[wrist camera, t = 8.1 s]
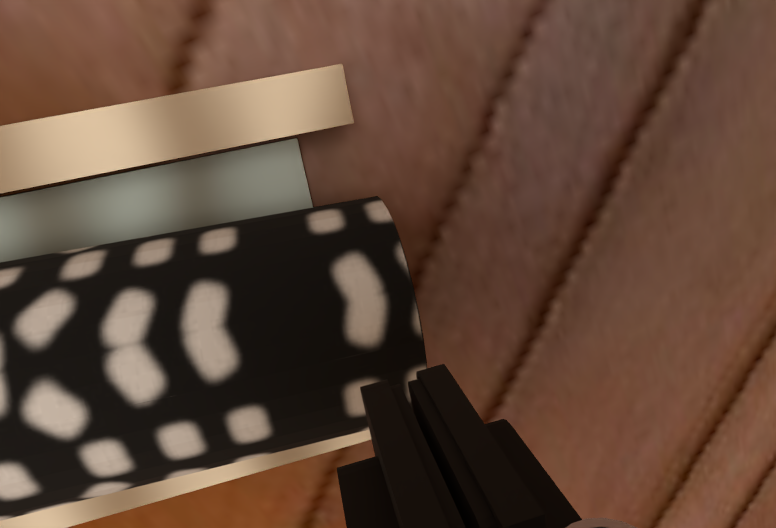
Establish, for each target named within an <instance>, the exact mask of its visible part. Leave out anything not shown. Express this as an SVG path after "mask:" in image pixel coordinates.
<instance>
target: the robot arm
mask: <svg viewBox="0 0 776 528" xmlns="http://www.w3.org/2000/svg"><path fill="white" fill-rule="evenodd" d="M416 378H417V379H416V380H412V381H408V388H409V393H410V398H411V404H412V409H413V411H412V409H411V406H410V404H409V402H408V400H407V398H406V396H405V393H404V391H403V389H402V387H401V385H400V384H398V385H394V386H390V384H389V382H388V380H383V381H380V382H376V383H372V384H369V385H365V386H361V387H360V390H361V395H362V400H363V404H364V408H365V413H366V417H367V421H368V426H369V430H370V435H371V439H372V443H373V448H374V452H375V456H376V457H372V458H369V459H366V460H362V461H359V462H355V463H352V464H349V465H345V466H342V467H338V468H337V472H338V479H339V485H340V491H341V496H342V502H343V508H344V514H345V520H346V526H347V528H636V527H634V526H632V525H629V524H627V523H624V522H622V521H618V520H612V519H607V518H590V519H584V520H582V519H581V518H580V516H579V515H578V514H577V512H576V511H575V510H574V508H573V507H572V506H571V504H570V503H569V502H568V500H567V499H566V498H565V496H564V495H563V494H562V492H561V491H560V490H559V488H558V487H557V486H556V484H555V483H554V482H553V480H552V479H551V478H550V476H549V475H548V474H547V472H546V471H545V470H544V468H543V467H542V466H541V464H540V463H539V462H538V460H537V459H536V458H535V456H534V455H533V454H532V452H531V451H530V450H529V448H528V447H527V446H526V444H525V443H524V442H523V440H522V439H521V438H520V436H519V435H518V434H517V432H516V431H515V430H514V428H513V427H512V426H511V424H510V423H509V422H508V421H507V420H504V419H501V420H498V421H495V422H491V423H488V424H484V423H483V421H482V420H481V418H480V417H479V415H478V414H477V412H476V411H475V409H474V408H473V406H472V405H471V403H470V402H469V400H468V399H467V397H466V396H465V394H464V393H463V391H462V390H461V388H460V387H459V385H458V384H457V382H456V381H455V379H454V378H453V376H452V375H451V373H450V372H449V370H448V369H447V367H446V366H445V365H444V364H442V365H438V366H434V367H431V368H427V369H423V370H420V371H417V372H416Z"/></svg>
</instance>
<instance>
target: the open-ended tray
mask: <svg viewBox="0 0 776 528" xmlns="http://www.w3.org/2000/svg"><path fill="white" fill-rule="evenodd" d="M352 123H354V121H353V116H352V111H351V106H350V100H349V95H348V90H347V85H346V80H345V75H344V70H343V65H342V64H339V65H333V66H328V67H322V68H317V69H311V70H306V71H300V72H295V73H289V74H284V75H278V76H273V77H267V78H262V79H256V80H251V81H245V82H240V83H234V84H229V85H223V86H218V87H212V88H207V89H201V90H196V91H190V92H185V93H179V94H174V95H168V96H163V97H157V98H152V99H146V100H141V101H135V102H130V103H124V104H119V105H113V106H108V107H102V108H97V109H91V110H86V111H80V112H75V113H69V114H64V115H58V116H53V117H47V118H42V119H36V120H31V121H25V122H20V123H14V124H9V125H3V126H0V193H5V192H10V191H15V190H20V189H25V188H30V187H35V186H40V185H45V184H50V183H56V182H61V181H66V180H71V179H76V178H81V177H86V176H91V175H96V174H101V173H106V172H111V171H116V170H121V169H126V168H131V167H136V166H141V165H146V164H151V163H156V162H161V161H166V160H171V159H176V158H181V157H186V156H191V155H196V154H201V153H206V152H211V151H216V150H221V149H226V148H231V147H236V146H241V145H246V144H251V143H256V142H261V141H266V140H271V139H276V138H281V137H286V136H291V135H296V134H302V133H307V132H312V131H317V130H322V129H327V128H332V127H337V126H342V125H347V124H352ZM307 208H313V205H312V201H311V196H310V192H309V188H308V183H307V179H306V175H305V171H304V166H303V162H302V158H301V153H300V149H299V145H298V140H297V138H293V139H288V140H283V141H278V142H273V143H268V144H263V145H258V146H253V147H248V148H243V149H239V150H234V151H229V152H224V153H219V154H214V155H209V156H204V157H199V158H194V159H189V160H184V161H179V162H174V163H169V164H164V165H159V166H154V167H149V168H144V169H139V170H134V171H129V172H124V173H119V174H114V175H109V176H104V177H99V178H94V179H89V180H84V181H79V182H74V183H69V184H64V185H59V186H54V187H49V188H44V189H39V190H34V191H29V192H24V193H19V194H14V195H9V196H4V197H0V262H5V261H11V260H17V259H23V258H28V257H34V256H40V255H45V254H51V253H57V252H62V251H68V250H74V249H79V248H85V247H91V246H97V245H102V244H108V243H114V242H119V241H125V240H131V239H136V238H142V237H148V236H153V235H159V234H165V233H171V232H176V231H182V230H188V229H193V228H199V227H205V226H210V225H216V224H222V223H227V222H233V221H239V220H245V219H250V218H256V217H262V216H267V215H273V214H279V213H284V212H290V211H296V210H301V209H307ZM368 440H371V435H370V430H366V431H362V432H358V433H353V434H349V435H345V436H341V437H337V438H333V439H329V440H325V441H321V442H317V443H313V444H309V445H305V446H301V447H297V448H293V449H289V450H285V451H281V452H277V453H273V454H268V455H264V456H260V457H256V458H252V459H248V460H244V461H240V462H236V463H232V464H228V465H224V466H220V467H216V468H212V469H208V470H204V471H200V472H196V473H192V474H188V475H183V476H179V477H175V478H171V479H167V480H163V481H159V482H155V483H151V484H147V485H143V486H139V487H135V488H131V489H127V490H123V491H119V492H115V493H111V494H107V495H103V496H98V497H94V498H90V499H86V500H82V501H78V502H74V503H70V504H66V505H62V506H58V507H54V508H50V509H46V510H42V511H38V512H34V513H30V514H26V515H22V516H18V517H13V518H9V519H5V520H1V521H0V528H67V527H70V526H74V525H77V524H81V523H84V522H88V521H91V520H94V519H98V518H101V517H105V516H108V515H112V514H115V513H119V512H122V511H126V510H129V509H132V508H136V507H139V506H143V505H146V504H150V503H153V502H157V501H160V500H164V499H167V498H170V497H174V496H177V495H181V494H184V493H188V492H191V491H195V490H198V489H202V488H205V487H208V486H212V485H215V484H219V483H222V482H226V481H229V480H233V479H236V478H240V477H243V476H247V475H250V474H253V473H257V472H260V471H264V470H267V469H271V468H274V467H278V466H281V465H285V464H288V463H291V462H295V461H298V460H302V459H305V458H309V457H312V456H316V455H319V454H323V453H326V452H329V451H333V450H336V449H340V448H343V447H347V446H350V445H354V444H357V443H361V442H364V441H368Z"/></svg>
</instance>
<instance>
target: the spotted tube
mask: <svg viewBox="0 0 776 528" xmlns="http://www.w3.org/2000/svg"><path fill="white" fill-rule="evenodd" d="M423 369H427V362H426V354H425V347H424V339H423V333H422V327H421V322H420V316H419V311H418V306H417V302H416V297H415V292H414V288H413V284H412V280H411V276H410V272H409V268H408V264H407V261H406V257H405V254H404V251H403V247H402V244H401V241H400V238H399V235H398V232H397V230H396V227H395V224H394V222H393V220H392V217H391V215H390V213H389V211H388V209H387V207H386V206H385V204H384V203H383V201H382V200H381V199H380V198H379V197H378V196H375V197H370V198H364V199H358V200H353V201H347V202H341V203H336V204H330V205H324V206H319V207H313V208H307V209H301V210H296V211H290V212H284V213H279V214H273V215H267V216H262V217H256V218H250V219H245V220H239V221H233V222H227V223H222V224H216V225H210V226H205V227H199V228H193V229H188V230H182V231H176V232H171V233H165V234H159V235H153V236H148V237H142V238H136V239H131V240H125V241H119V242H114V243H108V244H102V245H97V246H91V247H85V248H79V249H74V250H68V251H62V252H57V253H51V254H45V255H40V256H34V257H28V258H23V259H17V260H11V261H5V262H0V521H1V520H5V519H9V518H13V517H18V516H22V515H26V514H30V513H34V512H38V511H42V510H46V509H50V508H54V507H58V506H62V505H66V504H70V503H74V502H78V501H82V500H86V499H90V498H94V497H98V496H103V495H107V494H111V493H115V492H119V491H123V490H127V489H131V488H135V487H139V486H143V485H147V484H151V483H155V482H159V481H163V480H167V479H171V478H175V477H179V476H183V475H188V474H192V473H196V472H200V471H204V470H208V469H212V468H216V467H220V466H224V465H228V464H232V463H236V462H240V461H244V460H248V459H252V458H256V457H260V456H264V455H268V454H273V453H277V452H281V451H285V450H289V449H293V448H297V447H301V446H305V445H309V444H313V443H317V442H321V441H325V440H329V439H333V438H337V437H341V436H345V435H349V434H353V433H358V432H362V431H366V430H369V426H368V421H367V417H366V413H365V408H364V404H363V400H362V395H361V390H360V387H361V386H365V385H369V384H372V383H376V382H380V381H383V380H388V382H389V384H390V386H394V385H398V384H400V385H401V387H402V389H403V391H404V393H405V396H406V398H407V400H408V402H409V404H410V406H411V409H412V404H411V398H410V393H409V388H408V381H412V380H416V379H417V378H416V372H417V371H420V370H423ZM412 411H413V409H412Z"/></svg>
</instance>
